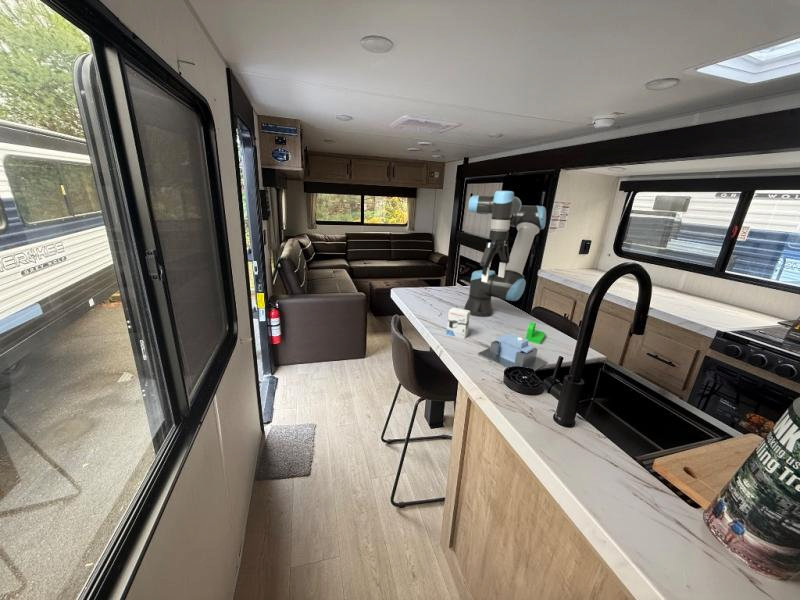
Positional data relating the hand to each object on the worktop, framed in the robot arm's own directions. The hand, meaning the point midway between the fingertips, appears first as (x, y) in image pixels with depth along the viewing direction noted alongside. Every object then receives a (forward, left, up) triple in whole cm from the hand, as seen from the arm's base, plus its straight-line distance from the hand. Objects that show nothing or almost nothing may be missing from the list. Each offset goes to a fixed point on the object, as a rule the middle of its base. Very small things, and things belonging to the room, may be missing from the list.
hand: (493, 279), depth 135 cm
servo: (+14, +22, -25) cm, 35 cm away
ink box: (+14, -5, -25) cm, 29 cm away
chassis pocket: (+14, +22, -25) cm, 36 cm away
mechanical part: (-14, +17, -26) cm, 34 cm away
